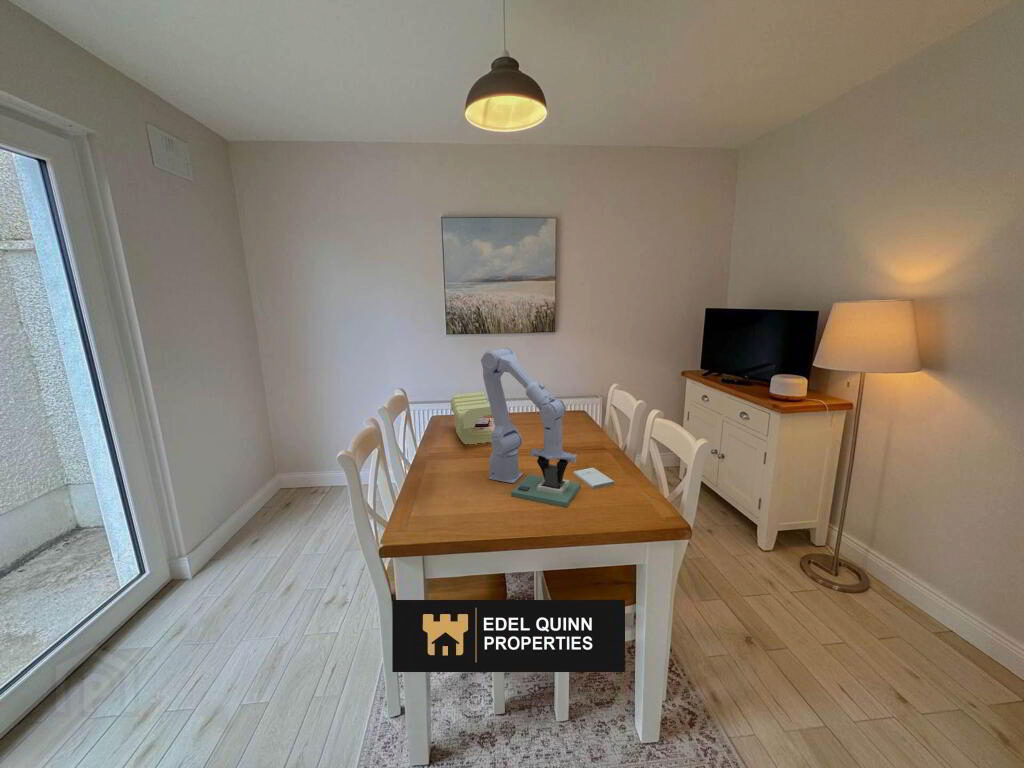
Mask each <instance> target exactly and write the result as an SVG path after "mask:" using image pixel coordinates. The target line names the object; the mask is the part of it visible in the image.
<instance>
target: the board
mask: <svg viewBox="0 0 1024 768" xmlns="http://www.w3.org/2000/svg"><path fill="white" fill-rule="evenodd" d="M581 486H582V485H581V482H577V481H573V480H572V481H571V480H568V479H564V478H563V480H562V482H561V485H560V486H559V488H558V489H555V488H550V487H545V480H544V476H543V475H536V474H531V473H530V474H528V475H527V476H526V477H525V478H523V480H521V482H519V483H518V484H517V486H515V487H514V489H512V490H511V491H510V494H511V495H510V497H512V498H513V497H514V498H517V499H522V500H526V501H527V500H528V501H531V502H538V503H543V504H548V505H553V506H557V507H562V508H568V507H569V505H570V503H571V502H572V501H573V499H574V498H575V496H576V495H577V493H578V492H579V490H580V489H581Z"/></svg>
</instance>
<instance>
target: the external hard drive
mask: <svg viewBox="0 0 1024 768" xmlns="http://www.w3.org/2000/svg"><path fill="white" fill-rule="evenodd" d="M573 475H574V476H575V477H577V478H579V480H581V482H583V483H585V484H586V485H587V486H588V487H590V488H592V490H593V489H598V488H603V487H607V486H611V485H615V481H614V480H613V479H611V478H610V477H609V476H607V475H605V474H604V473H602V472H600V471H599V470H598V469H596V468H595V467H590V468H585V469H579V470H574V471H573Z"/></svg>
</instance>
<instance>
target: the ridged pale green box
mask: <svg viewBox="0 0 1024 768" xmlns="http://www.w3.org/2000/svg"><path fill="white" fill-rule="evenodd" d="M450 409H451V410H450V411H452V413H453V416H454V424H455V431H456V434H457V436H458V437H459V439H460V440H461V442H462V443H463V444H464V445H466V446H468V445H467V444H475V445H478V444H477V443H482V444H487V443H486V442H489V443H492V437H491V434H492V432H493V431H492V429H478V430H474V428H475V427H476V423H477V422H478V420H480V419H481V418H484V417H489V416H492V411H491V407H490V403H489V400H487V397H486V394H485V392H484V391H476V392H468V393H467V392H465V393H458V394H455V395H453V396H452V397H451V400H450ZM472 428H473V429H472Z"/></svg>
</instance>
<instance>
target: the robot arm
mask: <svg viewBox="0 0 1024 768" xmlns="http://www.w3.org/2000/svg"><path fill="white" fill-rule="evenodd" d="M480 361H481V362H480V364H481V366H482V377H483V382H484V387H485V391H486V394H487V398H488V403H489V405H490V407H491V411H492V415H491V416H492V419H493V423H494V429H493V431H492V434H491V437H492V442H490V443H491V449H492V452H491V453H490V456H489V463H488V464H489V465H488V466H489V477H488V479H489V480H493V481H498V482H504V483H508V484H515V483H516V482H517V481H518V480H519V479H520V478H521V477H523V475H524V473H523V472H519V451H520V447H521V446H522V444H523V438H522V436H521V434H520V432H519V431H518V426H516V425H515V424H513V423H512V421H511V418H510V414H509V409H508V405H507V401H506V397H505V393H504V388H503V383H502V381H501V380H502V379H501V378H502V376H503V374H504V373H509V374H510V375H511V376H512V377H513V378H514V379H515V380H516V381H517V382H518V384H520V385H521V386H522V387H523V388H524V389H525V396H527V397H528V399H529V400H530V401H531V403H533V405H535V407H536V408H537V409H538V410H539V411H538V414H539V417H540V418H541V421H542V427H543V429H542V430H543V449H542V448H540V449H539V448H532V449H530V452H529V453H530V455H529V456H530V457H532V458H535V457H536V458H537V457H538V458H537V460H536V462H537V465H538V466H539V469H540V470H541V472H542V476H543V477H544V480H545V468H546V467H547V466H548V465H549V464H550V460H557V462H556V465H557V468H558V483H561V482H562V480H563V479H564V475H565V471H566V469H567V466H568V464H569V462H570V463H573V464H575V463H576V462H577V461H578V460H577V456H578V455H577V454H573V453H570V452H566V451H564V450H563V416H564V415H565V414H566V408H567V407H566V405H565V403H564V401H563V400H562V399H560V398H555V397H554V395H552V394H551V393H550V392H549V391H548V390H547V389H546V388H545V384H543V383H541V382H540V381H535V380H533V378H532V377H531V375H530V374H529V373H528V372H527V371H526V370H525V369H526V368H524V367H523V366H522V364H521V363H520V362H519V361H518V356H517V354H515V353H514V351H513V350H512V349H511V348H509V347H504V348H501V349H500V348H499V349H493V350H487V351H485V352H484V353H483V356H481V359H480ZM558 460H559V461H558Z"/></svg>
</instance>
